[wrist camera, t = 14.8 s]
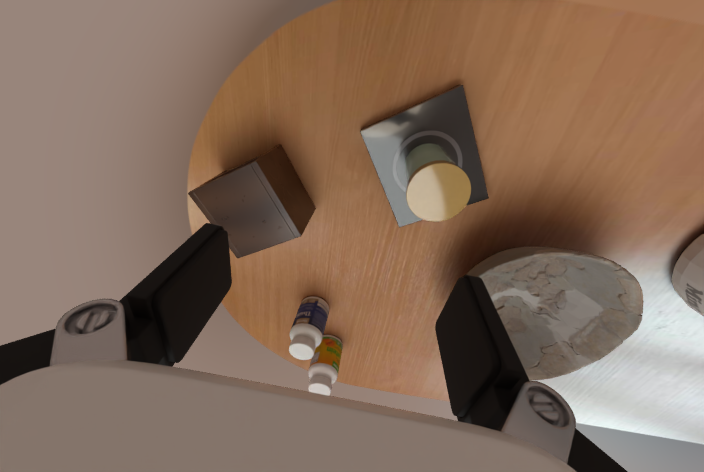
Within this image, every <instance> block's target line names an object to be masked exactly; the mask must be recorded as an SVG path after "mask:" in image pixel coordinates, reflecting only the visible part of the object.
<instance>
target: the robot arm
mask: <svg viewBox="0 0 704 472" xmlns="http://www.w3.org/2000/svg"><path fill="white" fill-rule="evenodd" d="M231 283H232V279H231V266H230V253H229V241H228V232H227V231H226V230H224V228H223V226H220V225H215V224H210V223H206V224H205V225H203V226H202V227H201V228H200V229H199V230H198V231H197V232H196V233H195V234H193V235H192V236H191V237H190V238H189V239H188V240H187V241H186V242H185V243H184V244H182V245H181V246H180V247H179V248H178V249H177V250H176V251H175V252H173V253H172V254H171V255H170V256H169V257H168V258H167V259H166V260H165V261H163V262H162V263H161V264H160V265H159V266H158V267H157V268H156V269H154V270H153V271H152V272H151V273H150V274H149V275H148V276H147V277H146V278H144V279H143V280H142V281H141V282H140V283H139V284H138V285H137V286H136V287H134V288H133V289H132V290H131V291H130V292H129V293H128V294H127V295H126V296H124V297H123V298H122V299H121V300H120V301H117V300H113V299H97V300H92V301H89V302H86V303H83V304H81V305H78V306H76V307H74V308H73V309H71V310H70V311H68V312H67V313H65V314H64V315H63V316H62V318H61V319H60V320H59V321H58V323H57V326H56V329H53V330H50V331H47V332H43V333H40V334H37V335H34V336H30V337H27V338H24V339H21V340H17V341H15V342H11V343H8V344H5V345H1V346H0V472H627V471H626V470H625V469H624V468H623V467H621V466H620V465H619V464H618V463H617V462H615V461H614V460H613V459H611V457H609V456H608V455H607V454H606V453H605V452H603V451H602V450H601V449H599V448H598V447H597V446H596V445H595V444H594V443H592V442H591V441H590V440H589V439H588V438H586V437H585V436H584V435H583V434H582V433H580V432H579V431H578V430H577V429H576V428H575V427H576V419H575V417H574V414H573V411H572V410H571V408H570V406H569V405H568V403H567V402H566V401H565V400H564V399H563V398H562V396H561V395H559V394H558V393H557V392H556V391H555V390H553V389H552V388H550V387H549V386H547V385H545V384H543V383H540V382H537V381H530V380H529V378H528V376H527V374H526V372H525V370H524V367H523V365H522V363H521V361H520V359H519V357H518V355H517V352H516V350H515V348H514V346H513V344H512V342H511V340H510V338H509V335H508V333H507V331H506V329H505V327H504V325H503V323H502V320H501V318H500V316H499V314H498V312H497V310H496V308H495V306H494V303H493V301H492V299H491V297H490V295H489V293H488V291H487V289H486V286H485V284H484V282H483V280H482V279H481V278H480V277H476V276H471V275H464V276H463V278H462V277H460V278H459V279H458V280H457V282H456V284H455V286H454V288H453V290H452V292H451V294H450V296H449V298H448V300H447V302H446V304H445V306H444V308H443V310H442V312H441V314H440V316H439V318H438V320H437V322H436V327H435V329H436V335H437V340H438V345H439V350H440V355H441V360H442V364H443V369H444V374H445V379H446V384H447V389H448V394H449V399H450V403H451V409H452V412H453V414H454V415H455V416H457V418H458V421H454V420H450V419H445V418H440V417H436V416H431V415H426V414H420V413H416V412H411V411H406V410H401V409H395V408H390V407H385V406H380V405H375V404H370V403H364V402H359V401H354V400H349V399H344V398H338V397H334V396H328V395H323V394H318V393H313V392H307V391H302V390H296V389H291V388H286V387H281V386H276V385H270V384H265V383H260V382H254V381H249V380H243V379H238V378H233V377H227V376H222V375H216V374H211V373H206V372H200V371H194V370H188V369H182V368H176V367H172V366H173V365H174V363H175V362H176V363H178V362H180V361H181V360H182V359H183V357H184V356H185V354H186V353H187V351H188V350H189V348H190V347H191V345H192V344H193V342H194V341H195V340H196V338H197V337H198V335H199V334H200V332H201V331H202V329H203V328H204V326H205V325H206V323H207V322H208V320H209V319H210V317H211V316H212V314H213V313H214V311H215V310H216V309H217V307H218V306H219V304H220V303H221V301H222V300H223V298H224V297H225V295H226V294H227V292H228V291H229V289H230V287H231Z"/></svg>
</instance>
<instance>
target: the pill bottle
mask: <svg viewBox="0 0 704 472" xmlns="http://www.w3.org/2000/svg"><path fill="white" fill-rule="evenodd" d="M328 314H329V306H328V304H327V303H326V302H325V301H324V300H323V299H321V298H319V297H313V296H312V297H307V298H305V299H304V300H303V301H302V302H301V305H300V307H299V310H298V312H297V315H296V318H295V320H294V323H293V326H292V328H291V331H290V339H291V344H290V346H289V352H290V354H291V355H292V356H293V357H295V358H297V359H300V360H308V359H310V358H312V357H313V355H314V352H315V349H316V347H317V346H319V345H320V343H321V341H322V338H323V334H324V330H325V326H326V322H327V318H328Z"/></svg>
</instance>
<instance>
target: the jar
mask: <svg viewBox="0 0 704 472" xmlns="http://www.w3.org/2000/svg"><path fill="white" fill-rule="evenodd" d="M404 175H405V181H406V199H407V204H408V206H409V208H410V210H411V211H412V212H413V213H414V214H415V215H416V216H417V217H419V218H421V219H423V220H426V221H431V222H439V221H444V220H448V219H450V218H452V217H454V216H456V215H457V214H458V213H460V212H461V211H462V210H463V209H464V207H465V206H466V204H467V203H468V201H469V198H470V195H471V184H470V180H469V178H468V176H467V175H466V173H465V172H464V171H463V169H462V168H461V167H459V166H458V165H457V164H455V162H454V161H453V160H452V158H451V157H450V156H449V154H448V153H447V152H446V150H445V149H444V148H442V147H441V146H439V145H436V144H430V143H429V144H422V145H420V146H418V147H416V148H414V149H413V150H412V151H411V152H410V153H409V154H408V156H407V157H406V160H405V163H404Z"/></svg>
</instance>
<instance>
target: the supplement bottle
mask: <svg viewBox="0 0 704 472" xmlns="http://www.w3.org/2000/svg"><path fill="white" fill-rule="evenodd" d="M341 353H342V342H341V340H340V339H339V338H337V337H335V336H332V335H323V338H322V341H321V343H320V345H319V346H317V347H316V349H315V352H314V355H313V357H312V360H311V363H310V367H309V371H308V374H309V378H310V382H309V387H308V389H309V391H310V392H313V393H318V394H323V395H329V394H330V393H331V389H332V384H333V383H334V382H335V381H336V379H337V376H338V371H339V365H340V359H341Z"/></svg>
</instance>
